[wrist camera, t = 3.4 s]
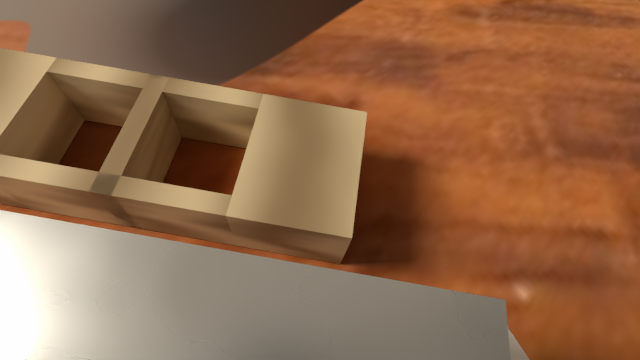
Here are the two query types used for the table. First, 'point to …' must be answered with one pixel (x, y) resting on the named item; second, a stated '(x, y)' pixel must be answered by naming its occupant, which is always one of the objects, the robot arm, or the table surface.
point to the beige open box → (160, 147)
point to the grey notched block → (217, 304)
